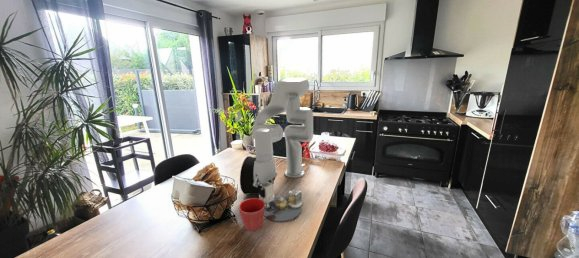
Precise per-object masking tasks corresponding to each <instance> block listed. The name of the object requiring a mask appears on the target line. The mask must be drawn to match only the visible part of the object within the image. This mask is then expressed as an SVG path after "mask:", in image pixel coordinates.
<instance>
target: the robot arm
mask: <svg viewBox="0 0 579 258" xmlns="http://www.w3.org/2000/svg"><path fill="white" fill-rule="evenodd" d="M309 89H310V82H309V80H308V79H307V78H305V77H297V78H296V77H286V78H281V79H279V80H278V81H276V83H275V84H274V89H273V92H272V94H271V98H270V102H269V104H268V105H266V106H265V107H263V109H262V110H261V111H259V113H258V114H257V115H256V116H255V119H254V121H253V126H252V129H251V135H252V137H253V139H254V149H255V151H254V152H255V157H256V161H255V162H254V183H253V186H255V187H257V188H259V194H258V196H259V195H260V196H261V197H264V198H265V189H264V183H265V182H267V181H268V182H269V183H272V184H273V185H274V184H275V180H276V178H277V176H278V173H277V172H276V171H277V169H276V163H275V158H274V153H275V152H274V149H273V148H274V147H273V143H276V142H278V141H280V140H282V138H283V136H284V139H285V148H286V149H285V151H286V155H285V156H286V169H285V171H284V175H285V176H286V177H288V178H290V179H291V178H294V179H296V178H298V179H299V178H301V177H302V176H305V170H304V168H305V167H306V163H303V162H302V161H303V157H302V156H303V155H302V153H303V152H302V150H303V149H302V145H301V143H300V142H303V143H305V142H306V143H309V142H312V140H313V138H314V112H313V110H312V108H310V107H301V98H300V97H302V96H304V95H306V94H307V93H309V92H308V91H309ZM284 112H285V117H286V118H285V119H286V120H287V122H288V123H290V125H287V126H285V128H283V127H282V126H281V125H279V124H268V123H265V122H266V121H267V120H269V119H271V118H273V117H275V116H278V115H280V114H282V113H284ZM297 124H298V125H297ZM299 124H300V125H299ZM261 184H262V186H261Z"/></svg>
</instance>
